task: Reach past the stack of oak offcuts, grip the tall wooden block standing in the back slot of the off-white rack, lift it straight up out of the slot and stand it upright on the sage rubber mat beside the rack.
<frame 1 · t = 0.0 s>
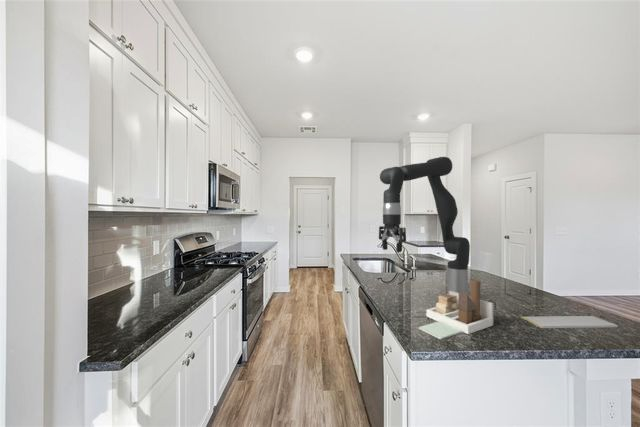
hand: (391, 250, 113), 29 cm above the counter, tool pointing down, fingers open, 8 cm apart
offcut rack: (459, 321, 109), on the counter
offcut stack: (446, 316, 115), resting in offcut rack
sage mat: (439, 330, 101), on the counter
baseboard: (565, 323, 109), on the counter
wooden block: (469, 326, 105), resting in offcut rack
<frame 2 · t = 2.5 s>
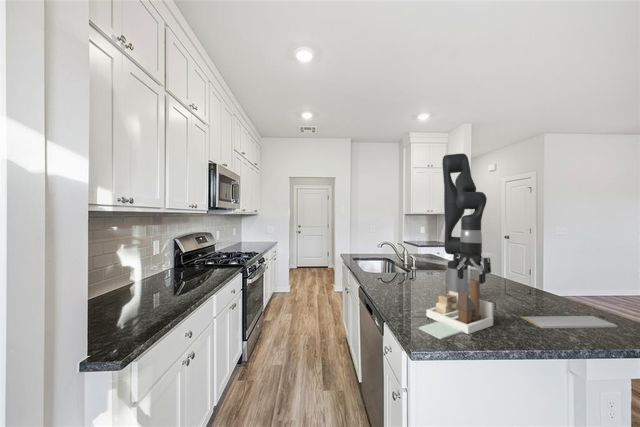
hand: (470, 281, 105), 18 cm above the counter, tool pointing down, fingers open, 8 cm apart
nothing on the counter moved.
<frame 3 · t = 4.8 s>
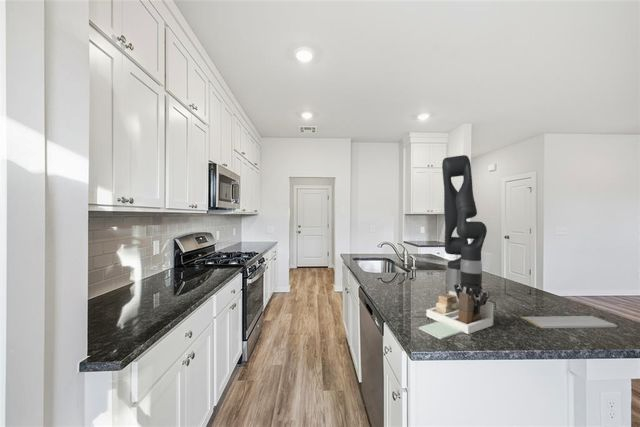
hand: (470, 312, 105), 5 cm above the counter, tool pointing down, fingers closed on wooden block, 3 cm apart
wooden block: (469, 325, 105), resting in offcut rack, touching gripper
everything else where it was.
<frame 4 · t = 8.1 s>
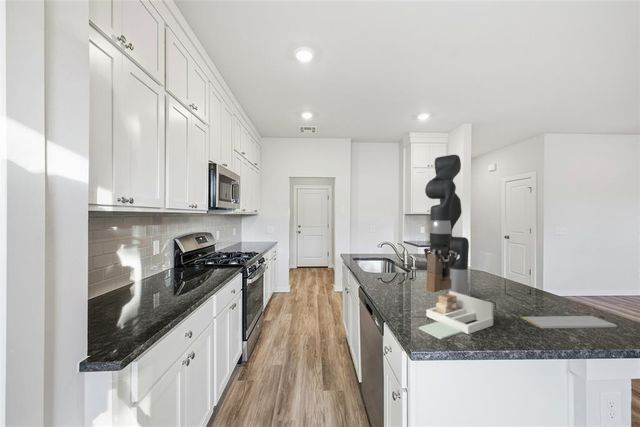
hand: (440, 276, 101), 21 cm above the counter, tool pointing down, fingers closed on wooden block, 3 cm apart
wooden block: (439, 289, 101), point 16 cm above the counter, touching gripper
everything else where it was.
when the fingers open (7 cm above the counter, at t = 11.4 s): wooden block drops 1 cm, resting on sage mat.
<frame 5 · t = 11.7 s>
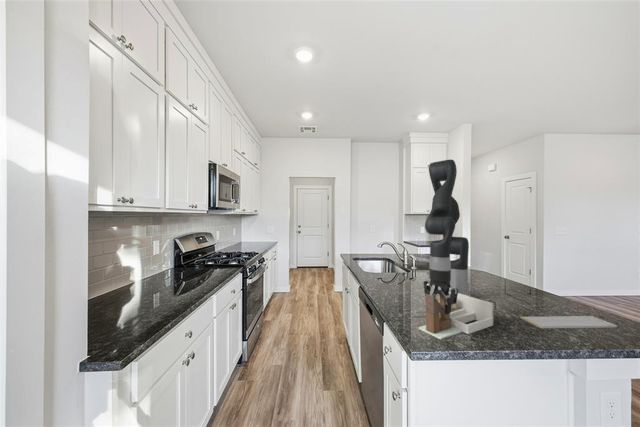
hand: (439, 310, 101), 8 cm above the counter, tool pointing down, fingers open, 6 cm apart
wooden block: (438, 329, 101), resting on sage mat
everything else where it was.
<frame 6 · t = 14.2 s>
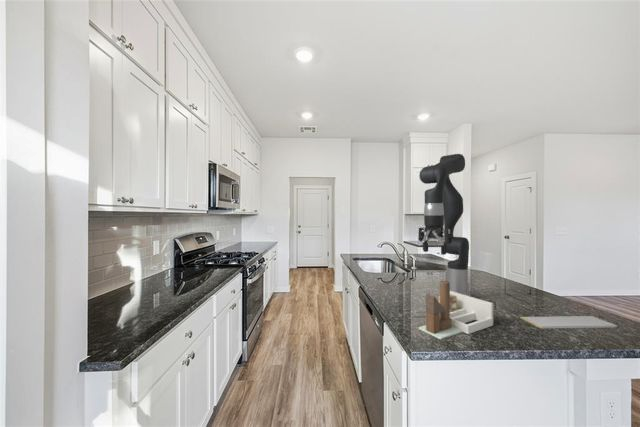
hand: (434, 252, 108), 29 cm above the counter, tool pointing down, fingers open, 8 cm apart
nothing on the counter moved.
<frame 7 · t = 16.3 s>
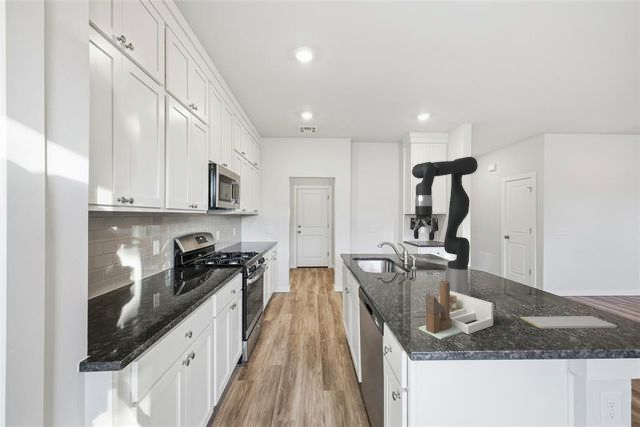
hand: (423, 239, 122), 33 cm above the counter, tool pointing down, fingers open, 8 cm apart
nothing on the counter moved.
at the end: wooden block 0.4 cm off-centre on the sage mat, point 0.4 cm above the sage mat's base; wooden block tilted 0°; offcut stack moved 0.1 cm from its start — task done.
